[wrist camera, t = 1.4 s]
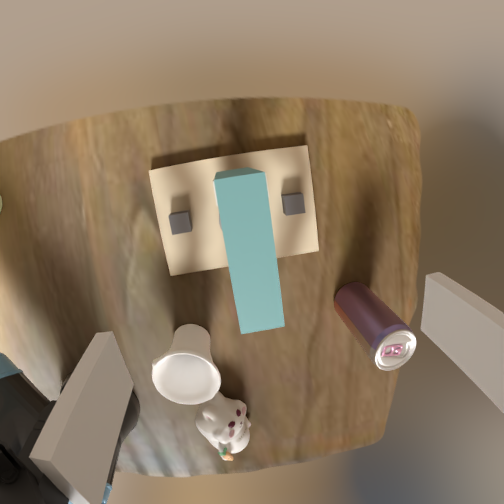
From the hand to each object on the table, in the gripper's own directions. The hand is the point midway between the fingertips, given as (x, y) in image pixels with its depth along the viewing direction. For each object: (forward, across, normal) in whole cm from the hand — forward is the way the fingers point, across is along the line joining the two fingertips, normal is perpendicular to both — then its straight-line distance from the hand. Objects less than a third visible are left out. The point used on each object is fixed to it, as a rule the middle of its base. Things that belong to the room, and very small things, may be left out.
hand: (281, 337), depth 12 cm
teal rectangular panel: (+23, 0, 0) cm, 23 cm away
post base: (+30, 0, 0) cm, 31 cm away
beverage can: (+31, +15, -16) cm, 38 cm away
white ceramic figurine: (+31, -8, -34) cm, 47 cm away
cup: (+31, -10, -18) cm, 37 cm away
